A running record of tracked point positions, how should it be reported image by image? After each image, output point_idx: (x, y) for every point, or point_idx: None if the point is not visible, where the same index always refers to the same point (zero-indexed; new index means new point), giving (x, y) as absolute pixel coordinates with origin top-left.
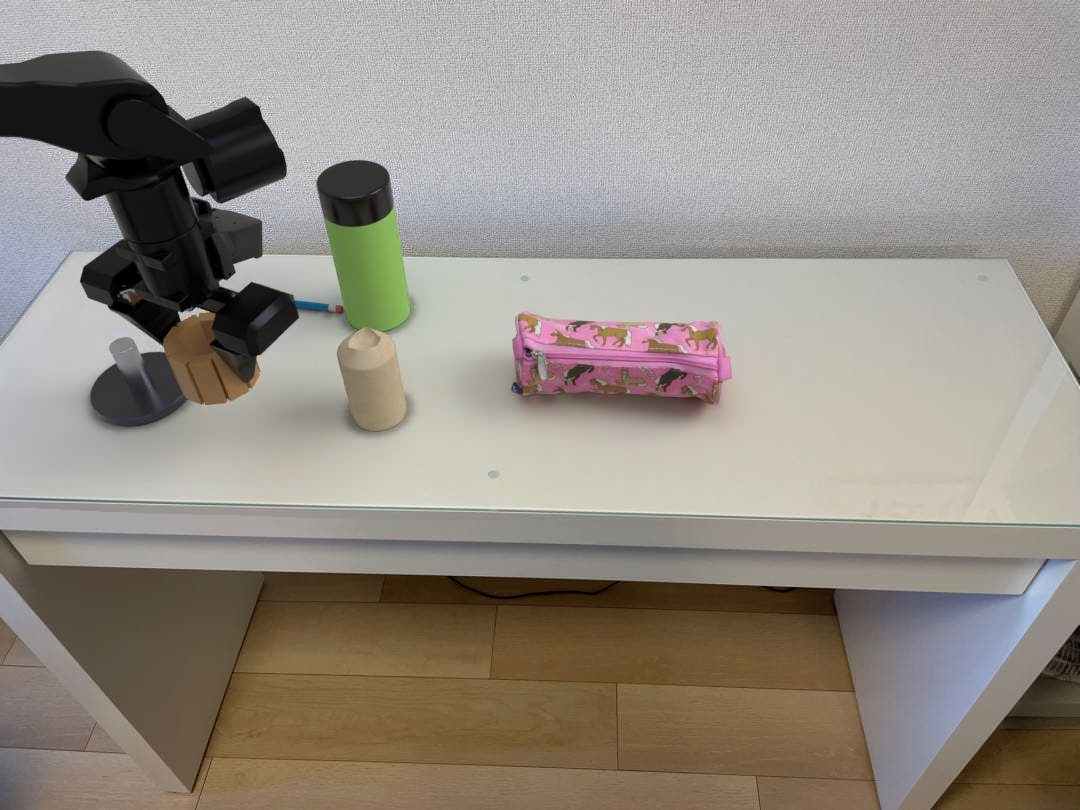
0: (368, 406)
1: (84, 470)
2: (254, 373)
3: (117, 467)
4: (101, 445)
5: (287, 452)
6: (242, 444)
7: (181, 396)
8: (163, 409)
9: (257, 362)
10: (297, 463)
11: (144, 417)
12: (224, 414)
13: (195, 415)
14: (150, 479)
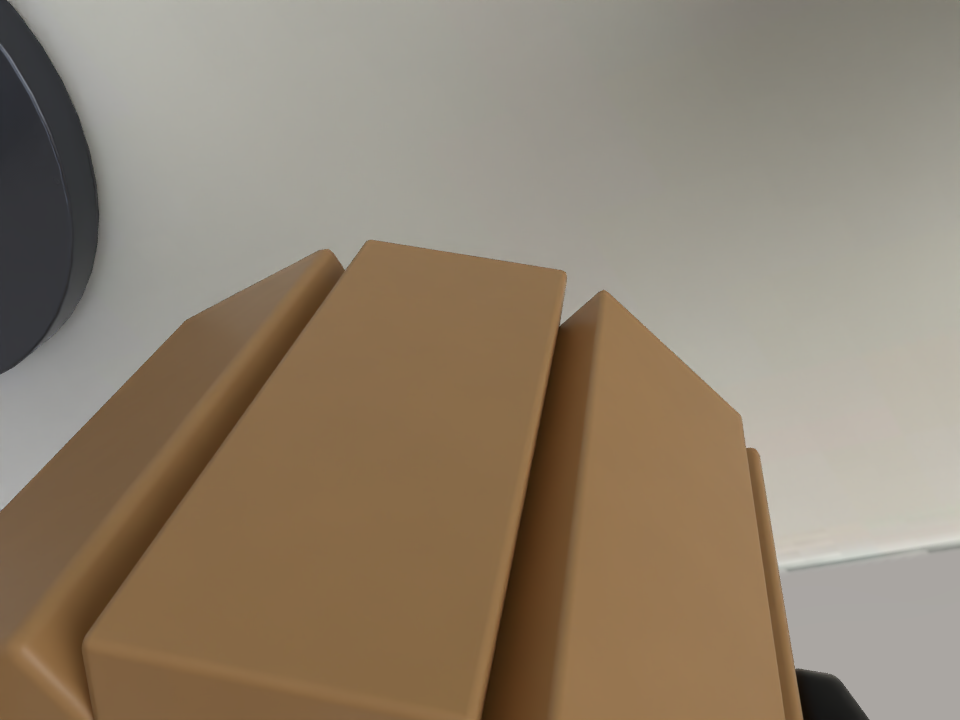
0: None
1: None
2: (858, 707)
3: None
4: (10, 464)
5: (822, 292)
6: None
7: (66, 172)
8: (67, 281)
9: (749, 486)
10: (911, 340)
11: (37, 346)
12: (338, 160)
13: (209, 213)
14: None
